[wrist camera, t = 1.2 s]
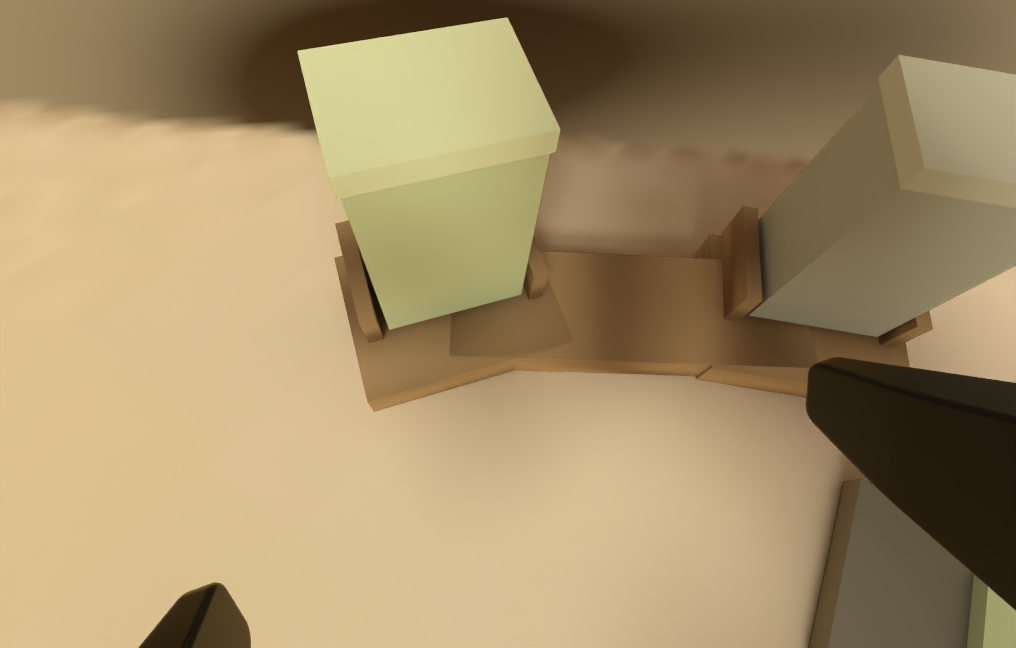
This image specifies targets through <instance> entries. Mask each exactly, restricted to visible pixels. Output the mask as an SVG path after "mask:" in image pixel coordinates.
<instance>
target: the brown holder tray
mask: <svg viewBox="0 0 1016 648" xmlns="http://www.w3.org/2000/svg"><path fill="white" fill-rule="evenodd" d="M335 225H336V229H337V233H338V237H339V242H340V246H341V250H342V254H343V256H340V257H335V263H336V267H337V271H338V276H339V280H340V284H341V289H342V293H343V297H344V302H345V306H346V310H347V315H348V319H349V323H350V328H351V332H352V336H353V341H354V345H355V349H356V354H357V358H358V362H359V367H360V371H361V375H362V380H363V384H364V388H365V393H366V397H367V401H368V403H369V405H370V406H371V407H372V409H373V410H374V411H377V410H381V409H384V408H388V407H391V406H394V405H398V404H401V403H405V402H408V401H411V400H415V399H418V398H421V397H425V396H428V395H432V394H435V393H438V392H442V391H445V390H449V389H452V388H455V387H459V386H462V385H465V384H469V383H472V382H476V381H479V380H482V379H486V378H489V377H493V376H496V375H499V374H503V373H506V372H509V371H513V370H532V371H563V372H593V373H624V374H654V375H685V376H697V379H700V380H706V381H712V382H718V383H724V384H730V385H736V386H742V387H748V388H754V389H760V390H766V391H772V392H778V393H784V394H790V395H796V396H802V397H806V393H807V380H808V371H809V369H810V367H811V366H812V365H813V364H815V363H818V362H820V361H823V360H826V359H829V358H832V357H843V358H850V359H857V360H863V361H870V362H877V363H884V364H890V365H897V366H904V367H909V361H908V355H907V350H906V344H905V342H906V341H909V340H911V339H913V338H915V337H917V336H919V335H921V334H923V333H926V332H928V331H930V330H932V329H933V327H932V323H931V318H930V313H929V311H927V312H925V313H923V314H921V315H919V316H917V317H915V318H913V319H911V320H909V321H907V322H905V323H904V324H902V325H900V326H898V327H896V328H894V329H892V330H890V331H888V332H886V333H884V334H882V335H880V336H878V337H874V336H868V335H862V334H856V333H850V332H844V331H838V330H832V329H826V328H820V327H814V326H808V325H802V324H796V323H791V322H785V321H779V320H773V319H767V318H761V317H755V316H749V315H748V313H749V312H750V311H751V310H752V309H753V308H754V307H756V306H757V305H758V304H759V303H760V302H762V301H763V299H762V282H761V264H760V247H759V230H758V213H757V209H756V208H750V207H744V206H743V207H742V209H741V210H740V211H739V212H738V214H737V215H736V216H735V217H734V218H733V220H732V221H731V222H730V223H729V225H728V226H727V227H726V228H725V230H724V231H723V232H722V236H716V235H710V236H709V237H708V238H707V240H706V241H705V242H704V243H703V245H702V246H701V247H700V249H699V250H698V251H697V258H679V257H657V256H636V255H615V254H593V253H572V252H550V251H540V250H539V247H538V245H537V243H536V240H535V238H534V235H533V239H532V244H531V249H530V254H529V259H528V263H527V268H526V273H525V278H524V283H523V288H522V293H521V295H518V296H514V297H510V298H507V299H503V300H499V301H495V302H492V303H488V304H484V305H480V306H477V307H473V308H469V309H465V310H462V311H458V312H454V313H450V314H447V315H443V316H439V317H435V318H432V319H428V320H424V321H420V322H417V323H413V324H409V325H405V326H402V327H398V328H394V329H390V330H389V328H388V325H387V322H386V319H385V317H384V314H383V311H382V309H381V306H380V303H379V300H378V298H377V295H376V292H375V290H374V287H373V284H372V281H371V279H370V276H369V273H368V271H367V268H366V265H365V263H364V260H363V257H362V254H361V252H360V249H359V246H358V244H357V241H356V238H355V235H354V233H353V230H352V227H351V225H350V222H349V221H345V222H340V223H336V224H335Z"/></svg>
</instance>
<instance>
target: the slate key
mask: <svg viewBox="0 0 1016 648" xmlns="http://www.w3.org/2000/svg"><path fill="white" fill-rule="evenodd" d="M878 79H879V85H878V86H877V87H876V89H875V90H874V91H873V92H872V93H871V94H870V95H869V97H868V98H867V99H866V100H865V101H864V102H863V103H862V104H861V105H860V107H859V108H858V109H857V110H856V111H855V112H854V113H853V115H852V116H851V117H850V118H849V119H848V120H847V121H846V122H845V123H844V125H843V126H842V127H841V128H840V129H839V130H838V132H837V133H836V134H835V135H834V136H833V137H832V138H831V139H830V140H829V142H828V143H827V144H826V145H825V146H824V147H823V148H822V149H821V151H820V152H819V153H818V154H817V155H816V156H815V157H814V158H813V160H812V161H811V162H810V163H809V164H808V165H807V166H806V168H805V169H804V170H803V171H802V172H801V173H800V174H799V175H798V177H797V178H796V179H795V180H794V181H793V182H792V183H791V184H790V186H789V187H788V188H787V189H786V190H785V191H784V192H783V193H782V195H781V196H780V197H779V198H778V199H777V200H776V201H775V203H774V204H773V205H772V206H771V207H770V208H769V209H768V210H767V212H766V213H765V214H764V215H763V216H762V217H761V218H760V219H759V221H758V230H759V247H760V264H761V282H762V299H763V301H762V302H760V303H759V304H758V305H757V306H756V307H754V308H753V309H752V310H751V311H750V312H749V313H748V315H749V316H755V317H761V318H767V319H773V320H779V321H785V322H791V323H796V324H802V325H808V326H814V327H820V328H826V329H832V330H838V331H844V332H850V333H856V334H862V335H868V336H874V337H878V336H880V335H882V334H884V333H886V332H888V331H890V330H892V329H894V328H896V327H898V326H900V325H902V324H904V323H905V322H907V321H909V320H911V319H913V318H915V317H917V316H919V315H921V314H923V313H925V312H927V311H929V310H931V309H933V308H935V307H937V306H938V305H940V304H942V303H944V302H946V301H948V300H950V299H952V298H954V297H956V296H958V295H960V294H962V293H964V292H966V291H968V290H970V289H972V288H973V287H975V286H977V285H979V284H981V283H983V282H985V281H987V280H989V279H991V278H993V277H995V276H997V275H999V274H1001V273H1003V272H1005V271H1006V270H1008V269H1010V268H1012V267H1014V266H1016V75H1014V74H1008V73H1002V72H996V71H991V70H984V69H978V68H973V67H967V66H961V65H955V64H949V63H943V62H937V61H932V60H926V59H920V58H913V57H907V56H902V55H898V56H897V57H896V59H895V60H894V61H893V62H892V63H891V64H890V65H889V67H888V68H887V69H886V70H885V71H884V72H883V73H882V75H881V76H880V77H879V78H878Z"/></svg>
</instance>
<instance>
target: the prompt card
mask: <svg viewBox="0 0 1016 648" xmlns="http://www.w3.org/2000/svg"><path fill="white" fill-rule="evenodd" d="M809 648H1016V611H1015V610H1014V609H1013V608H1012V607H1011V606H1010V605H1008V604H1007V603H1006V602H1005V601H1004V600H1003V599H1002V598H1000V597H999V596H998V595H997V594H996V593H995V592H994V591H992V590H991V589H990V588H989V587H988V586H987V585H986V584H984V583H983V582H982V581H981V580H980V579H979V578H977V577H976V576H975V575H974V574H973V573H972V572H971V571H969V570H968V569H967V568H966V567H965V566H964V565H963V564H961V563H960V562H959V561H958V560H957V559H956V558H955V557H953V556H952V555H951V554H950V553H949V552H948V551H947V550H945V549H944V548H943V547H942V546H941V545H940V544H938V543H937V542H936V541H935V540H934V539H933V538H932V537H930V536H929V535H928V534H927V533H926V532H925V531H924V530H922V529H921V528H920V527H919V526H918V525H917V524H916V523H914V522H913V521H912V520H911V519H910V518H909V517H908V516H906V515H905V514H904V513H903V512H902V511H901V510H899V509H898V508H897V507H896V506H895V505H894V504H893V503H892V502H891V501H890V500H888V499H887V498H886V497H885V496H884V495H883V494H882V493H881V492H880V491H879V490H878V489H877V488H876V487H875V486H874V485H873V484H871V483H869V482H867V481H865V480H863V479H857V480H851V481H845V482H844V484H843V488H842V493H841V498H840V503H839V508H838V512H837V517H836V522H835V527H834V531H833V536H832V541H831V546H830V551H829V555H828V560H827V565H826V570H825V574H824V579H823V584H822V589H821V594H820V598H819V603H818V608H817V613H816V617H815V622H814V627H813V632H812V636H811V641H810V646H809Z"/></svg>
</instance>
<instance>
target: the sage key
mask: <svg viewBox="0 0 1016 648" xmlns="http://www.w3.org/2000/svg"><path fill="white" fill-rule="evenodd" d="M298 55H299V60H300V64H301V68H302V72H303V76H304V80H305V84H306V89H307V93H308V96H309V101H310V105H311V109H312V113H313V117H314V122H315V125H316V130H317V134H318V138H319V142H320V147H321V151H322V155H323V159H324V163H325V167H326V171H327V175H328V179H329V182H330V184H331V187H332V189H333V192H334V195H335V197H336V200H337V199H341V200H342V203H343V206H344V208H345V211H346V214H347V216H348V219H349V222H350V225H351V227H352V230H353V233H354V235H355V238H356V241H357V244H358V246H359V249H360V252H361V254H362V257H363V260H364V263H365V265H366V268H367V271H368V273H369V276H370V279H371V281H372V284H373V287H374V290H375V292H376V295H377V298H378V300H379V303H380V306H381V309H382V311H383V314H384V317H385V319H386V322H387V325H388V328H389V330H390V329H394V328H398V327H402V326H405V325H409V324H413V323H417V322H420V321H424V320H428V319H432V318H435V317H439V316H443V315H447V314H450V313H454V312H458V311H462V310H465V309H469V308H473V307H477V306H480V305H484V304H488V303H492V302H495V301H499V300H503V299H507V298H510V297H514V296H518V295H521V293H522V288H523V283H524V278H525V273H526V268H527V263H528V259H529V254H530V249H531V244H532V239H533V234H534V229H535V224H536V220H537V215H538V210H539V205H540V200H541V195H542V190H543V185H544V181H545V176H546V171H547V166H548V161H549V156H550V154H551V153H555V152H556V148H557V144H558V139H559V134H560V128H559V125H558V123H557V121H556V119H555V117H554V115H553V113H552V111H551V109H550V107H549V104H548V102H547V100H546V98H545V96H544V94H543V92H542V89H541V88H540V85H539V83H538V81H537V79H536V77H535V75H534V73H533V71H532V68H531V66H530V64H529V62H528V60H527V58H526V56H525V54H524V52H523V49H522V47H521V45H520V43H519V41H518V39H517V37H516V35H515V33H514V31H513V28H512V26H511V24H510V22H509V20H508V18H501V19H495V20H489V21H482V22H476V23H471V24H464V25H457V26H452V27H445V28H439V29H432V30H426V31H420V32H413V33H407V34H401V35H394V36H388V37H382V38H376V39H370V40H363V41H357V42H350V43H345V44H338V45H332V46H325V47H319V48H313V49H307V50H300V51H298Z"/></svg>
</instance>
